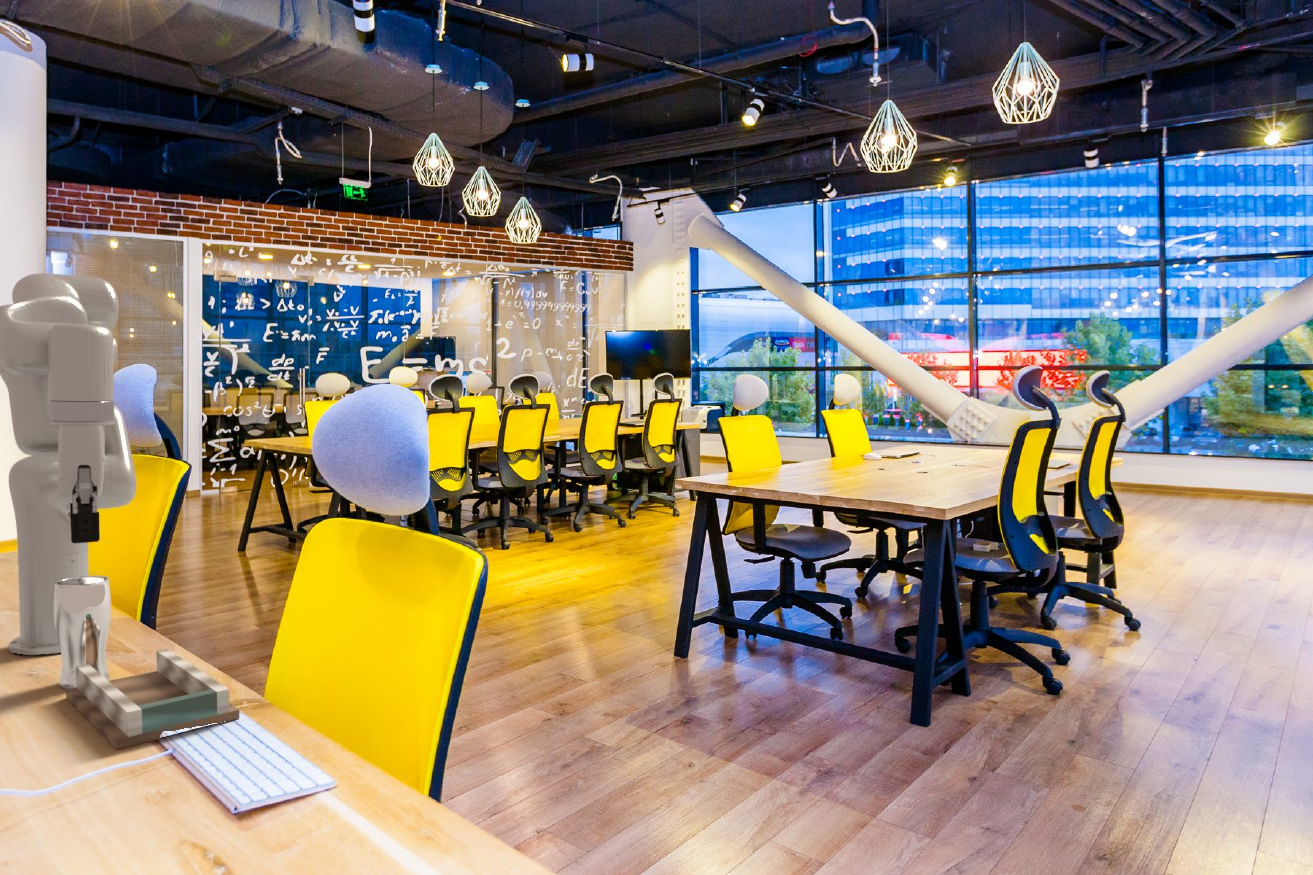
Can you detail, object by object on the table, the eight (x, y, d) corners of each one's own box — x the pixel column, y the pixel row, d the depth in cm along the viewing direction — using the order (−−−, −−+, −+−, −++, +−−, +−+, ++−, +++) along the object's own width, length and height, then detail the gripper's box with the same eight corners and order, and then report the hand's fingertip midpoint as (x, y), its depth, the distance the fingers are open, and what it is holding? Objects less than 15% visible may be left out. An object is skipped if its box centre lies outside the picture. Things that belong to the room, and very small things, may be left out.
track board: (66, 698, 120) (65, 668, 119) (176, 674, 130) (176, 647, 130) (117, 749, 103) (116, 715, 103) (239, 718, 113) (238, 686, 113)
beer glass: (123, 678, 128) (121, 578, 127) (75, 693, 121) (72, 587, 121) (93, 671, 131) (91, 573, 130) (44, 685, 124) (41, 582, 124)
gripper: (50, 410, 125) (52, 527, 126) (48, 417, 111) (51, 549, 112) (111, 410, 129) (113, 524, 131) (117, 417, 115) (119, 544, 116)
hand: (84, 535), depth 121 cm, fingers open, 9 cm apart
